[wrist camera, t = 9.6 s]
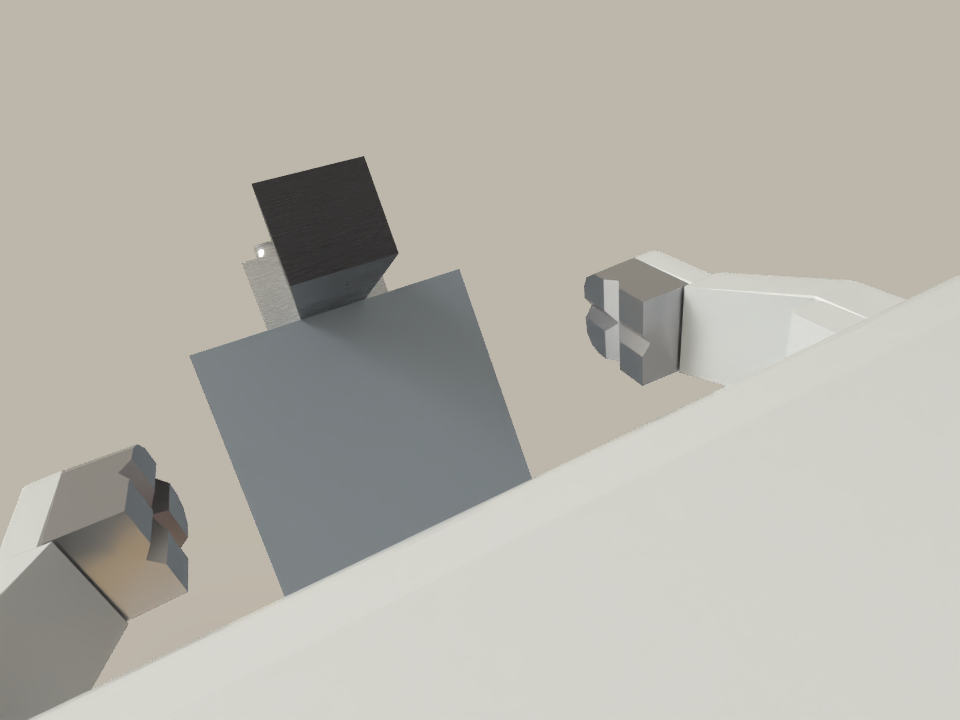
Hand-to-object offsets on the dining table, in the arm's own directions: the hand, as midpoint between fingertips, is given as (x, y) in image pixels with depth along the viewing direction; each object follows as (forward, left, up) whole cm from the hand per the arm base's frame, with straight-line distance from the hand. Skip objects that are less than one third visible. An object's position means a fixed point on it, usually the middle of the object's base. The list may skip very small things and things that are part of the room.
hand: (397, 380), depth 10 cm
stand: (+14, -5, -25) cm, 29 cm away
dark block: (+10, -4, +2) cm, 11 cm away
